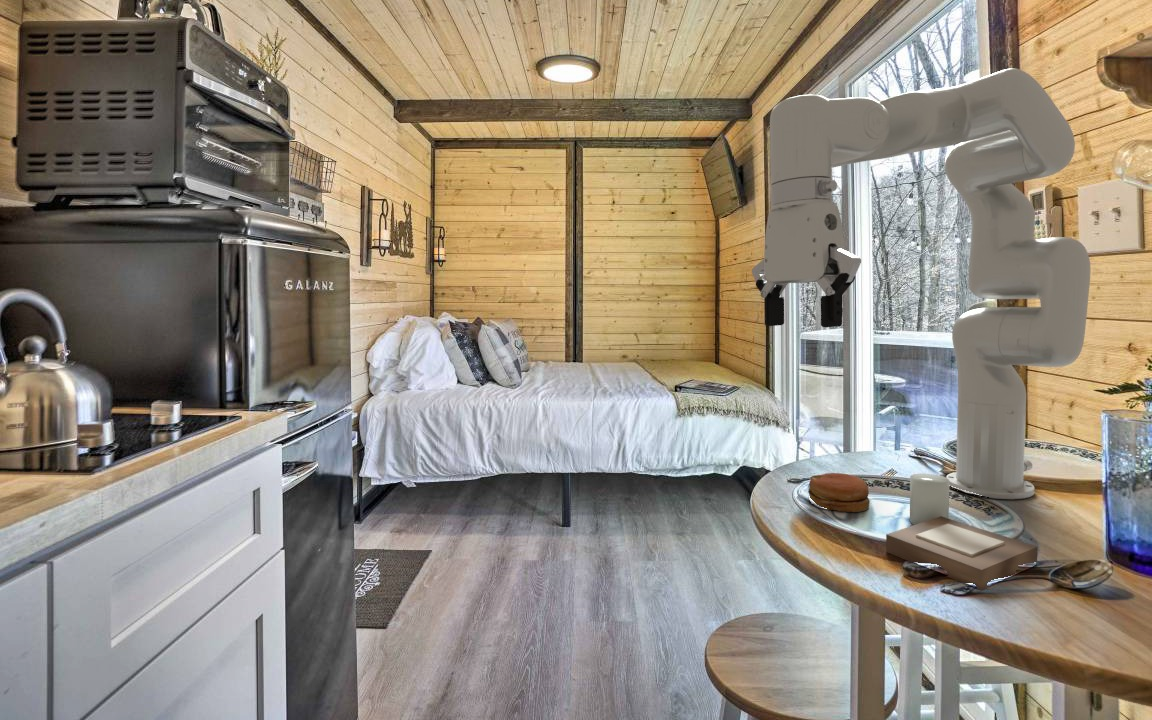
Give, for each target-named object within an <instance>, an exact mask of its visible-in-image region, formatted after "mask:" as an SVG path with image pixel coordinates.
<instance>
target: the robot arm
mask: <svg viewBox="0 0 1152 720" xmlns="http://www.w3.org/2000/svg"><path fill="white" fill-rule="evenodd" d="M1073 132H1074V131H1073V130H1072V128H1071V126H1070V123H1069V121H1068V120H1067V119H1066V118H1065V117H1064V115H1063V114H1062V112H1061V110H1059V108H1058V106H1057V105H1056V104H1055V102H1054V101H1053V100H1052V98H1051V97H1050V95H1049V94H1048V92H1047V91H1046V90H1045V89H1044V87H1043V85H1041V84H1040V83H1039V82H1038V81H1037V80H1036V79H1035V78H1034V77H1033V76H1032V75H1030V74H1029V73H1027V72H1026V71H1025V70H1022V69H1019V68H1013V67H1011V68H1007V69H1002V70H1000V71H997V72H994V73H992V74H988V75H985V76H983V77H981V78H977V79H974V80H972V81H968V82H966V83H962V84H959V85H955V86H951V87H941V88H935V89H934V88H933V89H926V90H916V91H908V92H905V93H900V94H898V95H894V96H891V97H887V98H885V99H882V100H880V101H878V100H876V99H873V98H871V97H870V98H869V97H861V96H857V97H855V96H854V97H846V98H843V97H842V98H827V97H825V96H823V95H819V94H802V95H801V94H800V95H797V96H792V97H789V98H786V99H784V100H782V101H779V103H778V102H777V104H776V105H775V106H774V107H773V108H772V110H771V112H770V115H769V148H770V149H769V151H770V155H769V156H770V159H769V160H770V163H769V164H770V211H769V212H768V216H767V222H766V228H765V229H766V230H765V236H764V237H765V238H764V253H763V255H764V256H763V259H762V260H761V261H759V262H758V263H757V264H755V265H754V267H752V269H751V274H752V276H753V279H754V281H755V286H756V288H757V290H758V291H759V293H760V297H761V298H762V299H764V303H763V304H764V307H763V309H764V326H766V327H775V326H783V325H784V324H785V299H784V296H782V294H783V292H784V290H785V289H786V287H787V285H788V284H803V283H817V284H818V285H819V287H820V288H821V290H822V292H824V294H825V295H821V296H820V326H821V327H822V328H836V327H841V326H842V325H843V313H844V312H843V301H844V300H843V299H844V298H843V296H844V295H846V294H848V288H849V287H850V286H851V285H852V284H853V283H854V281H855V279H856V275H857V273H858V270H859V269H860V266H861V263H862V259H861V258H860V257H859V256H857V255H855V254H854V253H850V252H849V251H847V250H845V239H844V231H843V224H842V218H841V214H840V209H839V206H838V203H837V202H834V201H833V202H832V199H833V198H832V197H833V195H832V194H833V193H832V192H835V191H836V190H837V188H838V183H837V181H836V180H832V177H833V175H832V173H833V172H832V170H833V168H837V167H842V166H847V165H852V164H858V163H864V162H869V161H874V160H883V159H888V158H894V157H898V156H904V155H907V154H909V155H910V154H914V153H917V152H922V151H928V150H933V149H938V148H939V149H940V148H946V147H950V146H953V147H952V148H951V149H950V150H949V151H948V152H947V154H946V156H945V158H944V159H945V160H944V171H945V174H946V177H947V179H948V180H949V182H950V184H951V185H952V186H953V187H954V189H955V190H956V191H957V193H959V195H960V196H961V198H962V199H963V201H964V202H965V204H966V207H968V210H969V213H970V217H971V237H970V239H971V240H970V249H969V250H970V251H969V263H968V273H967V274H968V277H967V278H968V280H967V281H968V287H969V290H970V292H971V293H972V294H973V295H974V296H976V297H978V298H982V299H988V300H1015V299H1016V300H1023V299H1024V300H1028V299H1029V300H1030V299H1033V300H1035V299H1039V303H1040V306H1031V307H1030V306H1029V307H1026V306H1025V307H1024V306H1023V307H1019V306H989V307H988V306H987V307H980V308H974V309H971V310H968V311H966V312H964V313H962V314H961V315H960V316H959V317H958V318H957V319H956V320H955V322H954V324H953V327H952V331H951V333H952V334H951V335H952V336H951V339H952V345H953V349H954V355H955V359H956V360H955V361H956V368H957V415H956V416H957V418H956V419H957V420H956V421H957V423H956V466H955V467H956V468H955V469H956V470H955V471H954V472H950V473H948V474H947V475H946V476H945V478H947V479H949V485H950V486H953V487H956V488H959V489H962V490H966V491H969V492H973V493H976V494H979V495H982V496H986V497H985V498H987V497H989V498H988V499H995V500H996V499H997V500H1022V499H1027V498H1030V497H1032V496H1034V495H1035V494H1036V492H1035V489H1036V488H1035V486H1034V484H1032V483H1031V482H1030V481H1029V480H1025V479H1024V474H1025V473H1024V472H1027V471H1031V470H1032V469H1033V464H1032V462H1031V461H1030V460H1028V459H1025V442H1026V441H1025V440H1026V412H1027V390H1026V387H1025V383H1024V381H1023V379H1022V377H1021V376H1020V375H1019V373H1018V371H1016V369H1015V367H1014V366H1027V367H1028V366H1029V367H1040V368H1041V367H1045V368H1060V367H1066V366H1069V365H1071V364H1073V363H1074V362H1075V361H1076V360H1077V359H1078V358H1079V356H1080V355H1081V351H1082V349H1083V346H1084V343H1085V342H1084V341H1085V334H1086V333H1085V332H1086V325H1087V315H1088V304H1089V296H1090V295H1089V294H1090V286H1091V285H1090V283H1091V268H1092V267H1091V262H1090V261H1091V260H1090V256H1089V253H1088V251H1087V249H1086V247H1085V246H1084V245H1083V243H1082V242H1080V241H1079V240H1078V239H1075V238H1073V237H1067V236H1065V237H1063V236H1055V237H1046V238H1045V237H1044V238H1035V221H1036V219H1035V218H1036V212H1035V208H1034V205H1033V204H1032V202H1031V201H1030V200H1029V198H1028V197H1027V196H1026V195H1025V194H1024V193H1023V192H1022V191H1021V190H1020V189H1018V187H1016V186H1015V185H1014V183H1019V182H1020V183H1021V182H1025V181H1031V180H1036V179H1043V178H1046V177H1050V176H1052V175H1055V174H1057V173H1059V172H1061V171H1063V170H1064V169H1065V168H1066V167H1068V165H1069V164H1070V162H1071V161H1072V159H1073V157H1074V154H1075V147H1076V144H1075V143H1076V140H1075V136H1074V133H1073ZM950 486H949V487H950Z"/></svg>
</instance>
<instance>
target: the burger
mask: <svg viewBox="0 0 1152 720" xmlns="http://www.w3.org/2000/svg"><path fill="white" fill-rule="evenodd" d="M808 486H809V488H808V495H809V496H810V498H811V499H812V500H813V501H814V502H815V503H816V504H817V505H819V506H821V507H824V508H827V509H831V510H830V511H832V510H834V511H837V512H840V513H841V512H842V513H843V512H844V513H859V512H864V511H867V510H868V509H869V507H870V502H871V501H870V499H869V494H870V493H869V492H870V491H869V487H868V486H869V485H868V484H867V482H865V481H864V480H863V479H862V478H860V477H858V476H856V475H852V474H847V473H840V472H826V473H823V474H822V473H821V474H815V475H812V476H811V477H810V480H809V485H808ZM809 496H808V497H809Z"/></svg>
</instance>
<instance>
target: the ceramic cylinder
mask: <svg viewBox="0 0 1152 720" xmlns="http://www.w3.org/2000/svg"><path fill="white" fill-rule="evenodd" d="M909 477H910V478H909V481H910V482H909V522H910V524H911V525H912V526H913V525H916V524H919V523H922V522H925V521H928V520H931V519H934V518H937V517H940V516H942V517H945V518H948V519H950V518H949V516H950V515H949V513H950V486H949V479H947V478H946V476H943V475H938V474H933V473H913V474H911V475H910V476H909Z"/></svg>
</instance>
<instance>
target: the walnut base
mask: <svg viewBox="0 0 1152 720" xmlns="http://www.w3.org/2000/svg"><path fill="white" fill-rule="evenodd" d="M885 536H886V537H885V539H886V540H885V552H886V553H888V554H891V555H893V556H895V557H898V558H900V559H903V560H905V561H907V562H910V563H912V562H918V563H931V564H937V565H939V566H941V567H942V568H943V569H944V570H946V571H947V573H948V574H949V575H948V576H946V577H947V578H950V579H952V580H955V581H957V582H959V583H962V584H964V583H973V584H975V585H976V586H977V589H976V590H979V591H982V590H986V589H987V588H990V587H992V586H993V585H991V586H987V583H988V582H990V581H991V580H994V579H998V578H1004V577H1008V576H1011V575H1013V574H1015V573H1016V570H1017V568H1018V565H1023V564H1026V563H1034V562H1037V563H1038V546H1036V545H1034V544H1031V543H1027V542H1025V541H1022V540H1021V541H1020V540H1018V539H1014V538H1012V537H1009V536H1005V535H1002V534H999V533H996V532H993V531H989V530H986V529H984V528H980V527H976V526H973V525H969V524H967V523H964V522H961V521H958V520H956V519H955V520H954V519H950V518H949V519H948V518H945V517H942V516H940V517H937V518H934V519H931V520H928V521H925V522H922V523H919V524H916V525H913V524H912V525H910V526H907V527H905V528H901V529H898V530H895V531H892V532H889V533H886V535H885Z"/></svg>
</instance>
